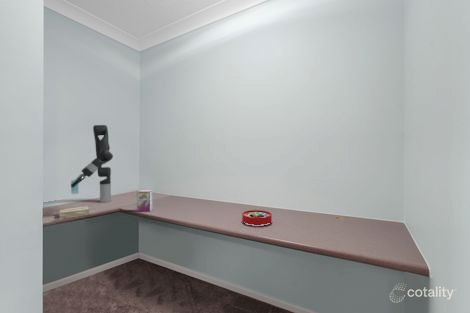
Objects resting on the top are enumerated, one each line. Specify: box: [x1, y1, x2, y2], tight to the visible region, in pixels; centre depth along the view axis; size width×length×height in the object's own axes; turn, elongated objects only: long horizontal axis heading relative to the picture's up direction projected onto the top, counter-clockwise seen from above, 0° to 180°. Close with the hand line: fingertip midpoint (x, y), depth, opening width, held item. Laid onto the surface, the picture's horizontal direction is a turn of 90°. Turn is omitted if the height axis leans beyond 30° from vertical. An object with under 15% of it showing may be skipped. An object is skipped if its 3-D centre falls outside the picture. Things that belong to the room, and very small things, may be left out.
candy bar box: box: [136, 189, 153, 212], centre depth 188 cm, size 11×5×16 cm, turn 84°
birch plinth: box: [59, 205, 90, 219], centre depth 177 cm, size 14×18×4 cm
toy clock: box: [241, 209, 273, 225], centre depth 158 cm, size 20×6×20 cm
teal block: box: [70, 179, 79, 195], centre depth 177 cm, size 4×4×10 cm
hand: (71, 186), depth 176 cm, fingers closed on teal block, 4 cm apart
